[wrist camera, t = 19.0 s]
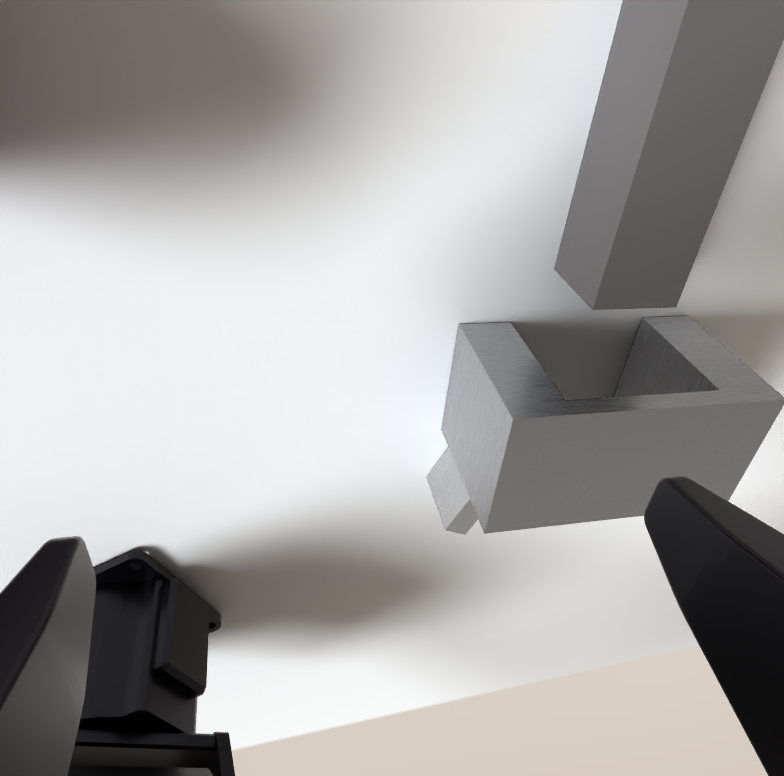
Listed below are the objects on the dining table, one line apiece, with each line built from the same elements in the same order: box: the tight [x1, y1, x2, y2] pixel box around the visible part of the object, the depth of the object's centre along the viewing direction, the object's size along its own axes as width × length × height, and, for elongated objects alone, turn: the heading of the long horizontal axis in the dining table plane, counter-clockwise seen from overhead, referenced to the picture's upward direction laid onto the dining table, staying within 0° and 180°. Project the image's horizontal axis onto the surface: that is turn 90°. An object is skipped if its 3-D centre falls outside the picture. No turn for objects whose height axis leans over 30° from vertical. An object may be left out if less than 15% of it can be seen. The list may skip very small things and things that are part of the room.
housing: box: [427, 316, 784, 534], centre depth 23 cm, size 8×10×6 cm
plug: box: [554, 0, 784, 310], centre depth 16 cm, size 14×4×4 cm, turn 175°
